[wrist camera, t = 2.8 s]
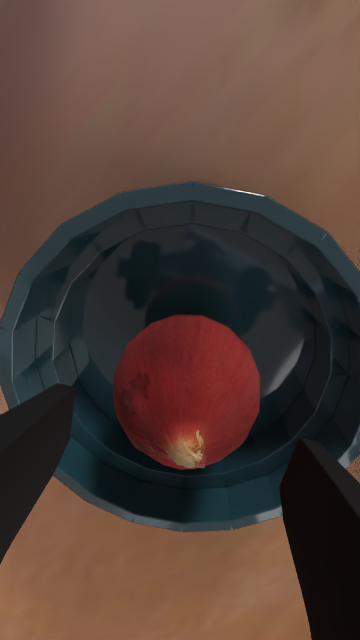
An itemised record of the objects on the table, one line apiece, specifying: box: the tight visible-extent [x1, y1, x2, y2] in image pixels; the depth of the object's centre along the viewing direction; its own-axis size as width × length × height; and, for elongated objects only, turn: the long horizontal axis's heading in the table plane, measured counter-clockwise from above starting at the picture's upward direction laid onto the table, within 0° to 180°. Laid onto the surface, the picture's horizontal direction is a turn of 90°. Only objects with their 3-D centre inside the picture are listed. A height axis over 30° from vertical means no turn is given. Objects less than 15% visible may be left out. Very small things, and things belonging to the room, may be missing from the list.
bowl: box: [0, 181, 360, 532], centre depth 16 cm, size 15×15×4 cm
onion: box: [113, 314, 260, 470], centre depth 13 cm, size 6×6×8 cm
